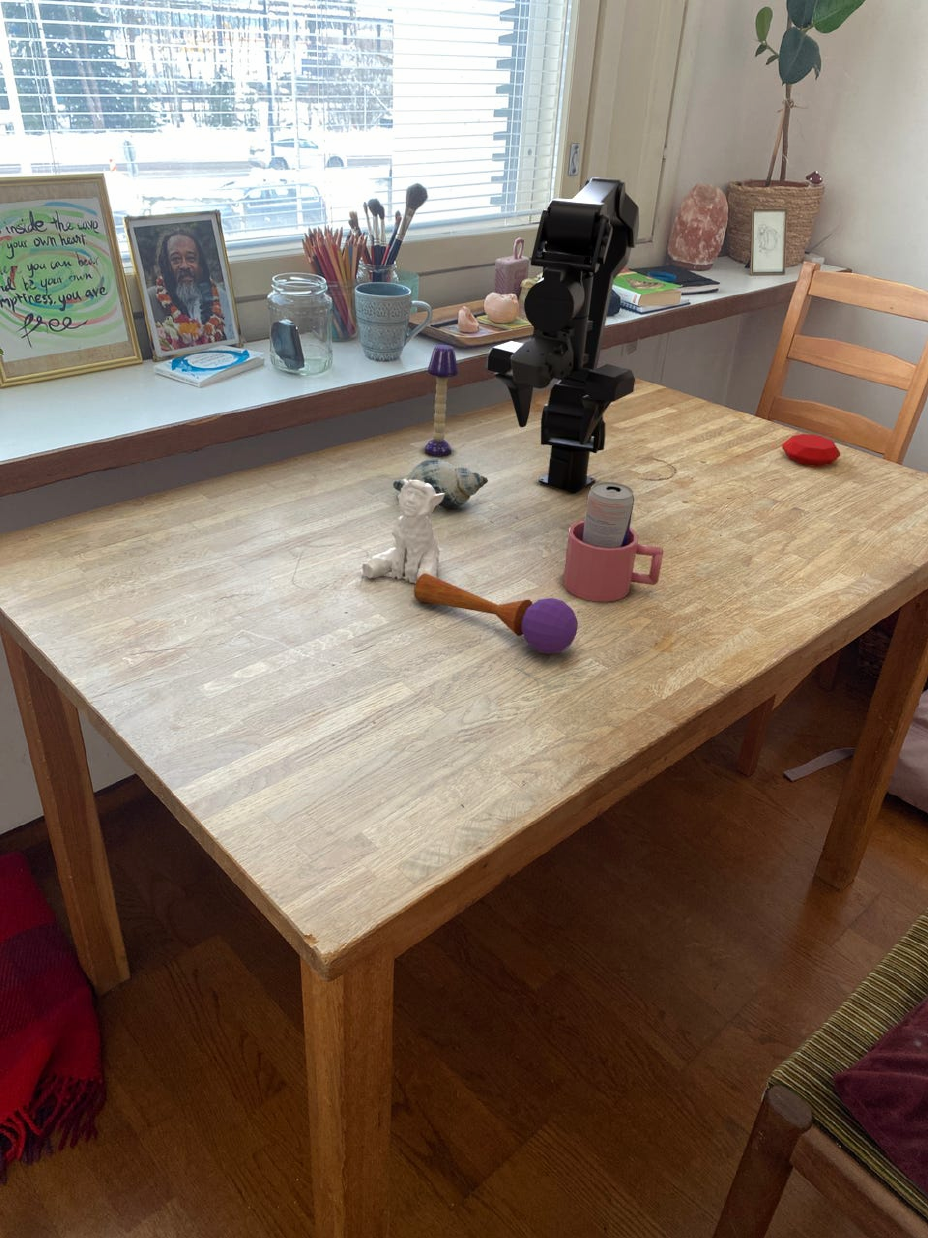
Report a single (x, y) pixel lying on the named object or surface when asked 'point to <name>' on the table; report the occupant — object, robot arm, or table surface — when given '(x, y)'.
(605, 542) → the energy drink
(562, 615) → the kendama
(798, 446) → the gemstone
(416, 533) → the seated beast figurine
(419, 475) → the seashell
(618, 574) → the mug
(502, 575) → the table surface
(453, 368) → the toy lamp
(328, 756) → the table surface
